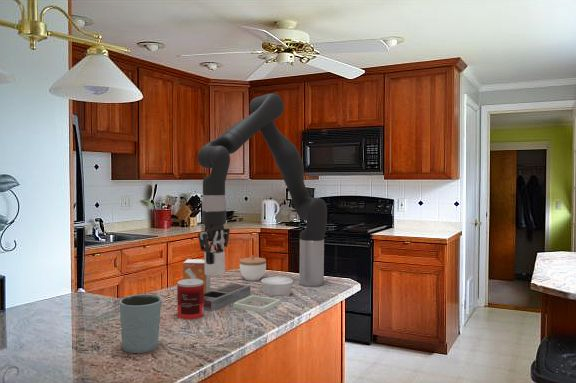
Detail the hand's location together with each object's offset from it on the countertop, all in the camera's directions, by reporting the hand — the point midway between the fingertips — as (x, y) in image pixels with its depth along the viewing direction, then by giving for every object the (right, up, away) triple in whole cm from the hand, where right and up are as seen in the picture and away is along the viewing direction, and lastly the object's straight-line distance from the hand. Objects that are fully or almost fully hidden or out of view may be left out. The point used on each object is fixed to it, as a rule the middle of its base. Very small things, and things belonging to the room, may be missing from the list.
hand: (214, 262), depth 157 cm
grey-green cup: (-13, -16, -34) cm, 40 cm away
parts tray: (+14, -15, -1) cm, 20 cm away
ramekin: (+19, -14, +16) cm, 29 cm away
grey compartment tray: (+2, -14, +4) cm, 15 cm away
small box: (-8, -14, +10) cm, 19 cm away
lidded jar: (+9, -13, +40) cm, 43 cm away
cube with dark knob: (0, -4, 0) cm, 4 cm away
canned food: (-5, -15, -11) cm, 20 cm away
